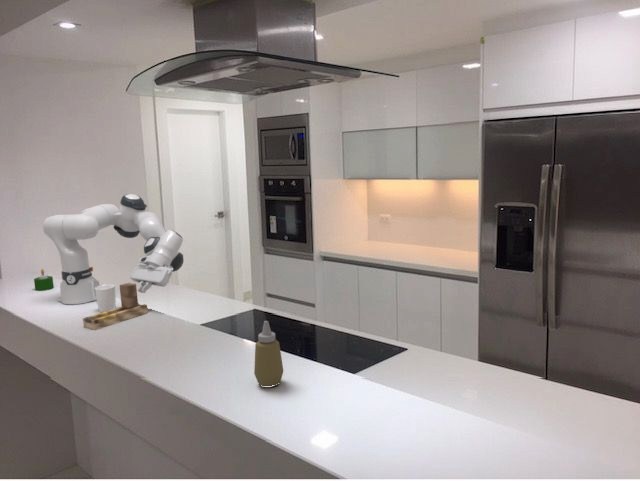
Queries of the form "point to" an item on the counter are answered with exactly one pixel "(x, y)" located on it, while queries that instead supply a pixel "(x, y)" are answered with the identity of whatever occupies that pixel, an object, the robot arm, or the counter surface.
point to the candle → (43, 282)
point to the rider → (128, 295)
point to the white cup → (105, 297)
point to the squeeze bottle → (268, 358)
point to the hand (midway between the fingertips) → (140, 292)
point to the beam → (113, 316)
